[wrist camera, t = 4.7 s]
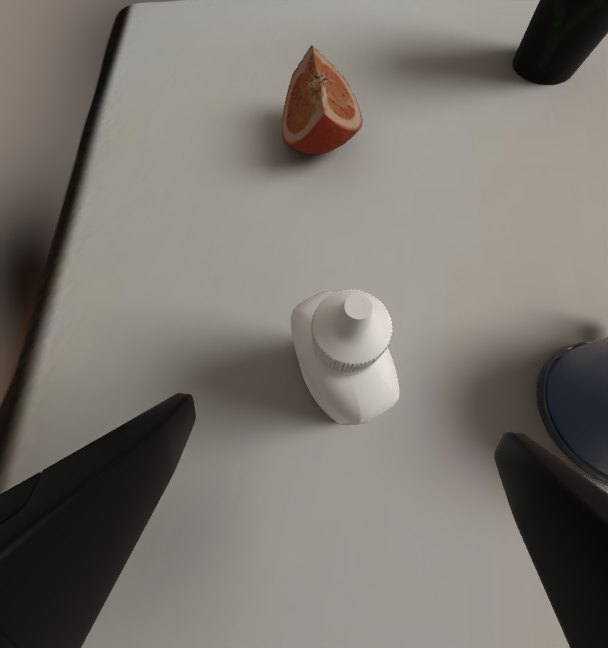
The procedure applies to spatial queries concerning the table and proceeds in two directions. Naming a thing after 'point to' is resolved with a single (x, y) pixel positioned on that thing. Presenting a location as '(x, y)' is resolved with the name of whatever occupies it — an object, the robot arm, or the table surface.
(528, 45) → the cup
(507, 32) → the table surface
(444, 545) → the table surface
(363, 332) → the eye dropper bottle
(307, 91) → the fruit slice
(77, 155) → the table surface
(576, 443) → the blue mug
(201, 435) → the table surface
